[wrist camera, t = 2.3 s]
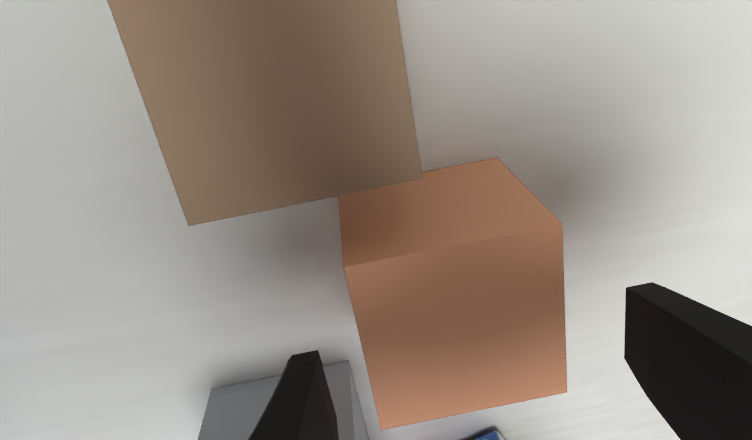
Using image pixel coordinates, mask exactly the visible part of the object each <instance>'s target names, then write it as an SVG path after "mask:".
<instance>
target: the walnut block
mask: <svg viewBox="0 0 752 440" xmlns="http://www.w3.org/2000/svg"><path fill="white" fill-rule="evenodd" d="M107 1H108V4H109V7H110V9H111V12H112V15H113V18H114V21H115V23H116V26H117V29H118V32H119V34H120V37H121V40H122V43H123V45H124V48H125V51H126V54H127V57H128V59H129V62H130V65H131V68H132V70H133V73H134V76H135V79H136V82H137V84H138V87H139V90H140V93H141V95H142V98H143V101H144V104H145V107H146V109H147V112H148V115H149V118H150V120H151V123H152V126H153V129H154V131H155V134H156V137H157V140H158V143H159V145H160V148H161V151H162V154H163V156H164V159H165V162H166V165H167V168H168V170H169V173H170V176H171V179H172V181H173V184H174V187H175V190H176V192H177V195H178V198H179V201H180V204H181V206H182V209H183V212H184V215H185V217H186V220H187V223H188V226H191V225H196V224H201V223H206V222H211V221H216V220H221V219H225V218H230V217H235V216H240V215H245V214H250V213H255V212H260V211H265V210H270V209H275V208H280V207H285V206H290V205H295V204H300V203H305V202H310V201H315V200H320V199H325V198H330V197H335V196H340V195H345V194H350V193H355V192H360V191H365V190H370V189H375V188H380V187H385V186H390V185H395V184H400V183H405V182H410V181H415V180H419V179H422V172H421V165H420V158H419V152H418V145H417V138H416V132H415V125H414V118H413V112H412V105H411V98H410V91H409V85H408V78H407V71H406V65H405V58H404V51H403V45H402V38H401V31H400V24H399V18H398V11H397V4H396V0H107Z"/></svg>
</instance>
